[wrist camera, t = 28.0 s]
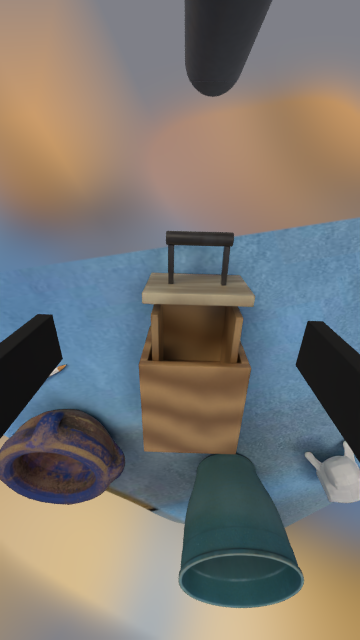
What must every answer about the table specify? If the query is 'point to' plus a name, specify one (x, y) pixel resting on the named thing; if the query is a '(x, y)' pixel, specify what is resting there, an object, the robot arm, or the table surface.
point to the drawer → (197, 306)
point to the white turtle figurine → (338, 476)
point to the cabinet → (192, 403)
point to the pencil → (57, 370)
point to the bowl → (61, 458)
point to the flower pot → (235, 539)
